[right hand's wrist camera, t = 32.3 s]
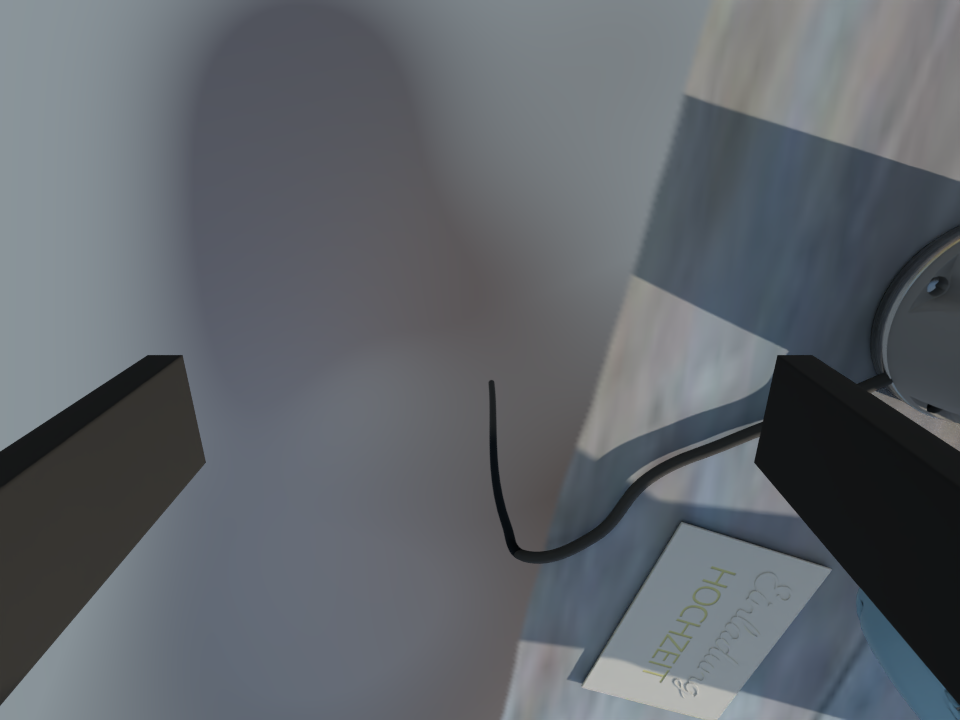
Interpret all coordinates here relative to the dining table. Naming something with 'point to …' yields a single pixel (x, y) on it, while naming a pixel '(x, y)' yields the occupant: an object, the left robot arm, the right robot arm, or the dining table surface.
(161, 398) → the right robot arm
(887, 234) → the dining table surface
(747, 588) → the invitation card
